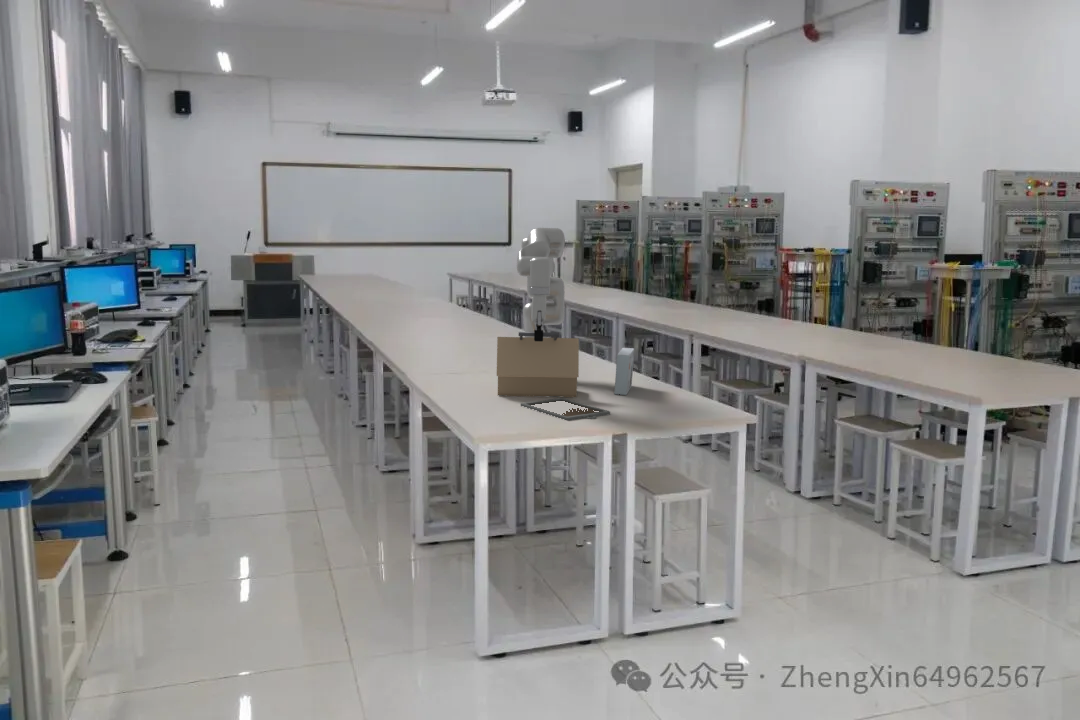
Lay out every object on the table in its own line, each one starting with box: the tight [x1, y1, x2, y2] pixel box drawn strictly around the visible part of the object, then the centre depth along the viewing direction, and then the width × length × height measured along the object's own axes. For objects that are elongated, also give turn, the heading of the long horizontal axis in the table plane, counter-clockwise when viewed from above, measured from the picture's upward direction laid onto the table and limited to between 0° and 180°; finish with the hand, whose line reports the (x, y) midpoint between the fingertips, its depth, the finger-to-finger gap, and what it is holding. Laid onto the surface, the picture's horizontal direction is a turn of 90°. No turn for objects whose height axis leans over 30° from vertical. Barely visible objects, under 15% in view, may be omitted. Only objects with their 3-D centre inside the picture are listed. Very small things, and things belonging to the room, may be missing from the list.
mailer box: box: [497, 376, 578, 398], centre depth 332 cm, size 14×30×8 cm, turn 91°
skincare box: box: [613, 347, 635, 396], centre depth 341 cm, size 21×6×16 cm, turn 168°
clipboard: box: [520, 397, 611, 422], centre depth 302 cm, size 19×2×30 cm
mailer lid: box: [496, 331, 580, 378], centre depth 321 cm, size 15×31×9 cm
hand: (538, 340), depth 319 cm, fingers closed on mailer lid
